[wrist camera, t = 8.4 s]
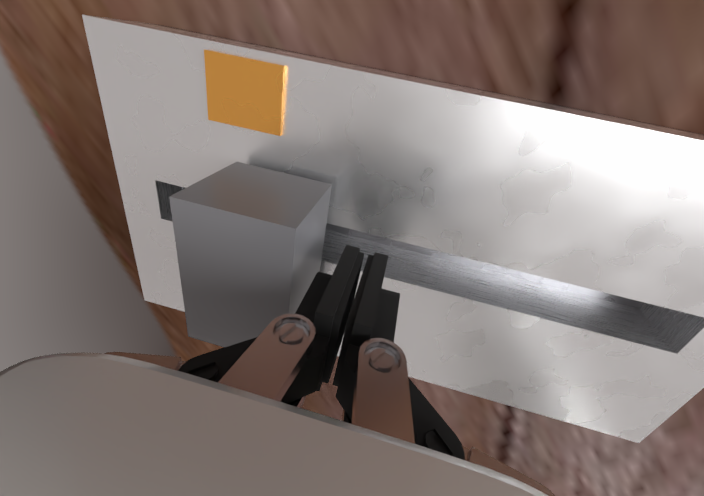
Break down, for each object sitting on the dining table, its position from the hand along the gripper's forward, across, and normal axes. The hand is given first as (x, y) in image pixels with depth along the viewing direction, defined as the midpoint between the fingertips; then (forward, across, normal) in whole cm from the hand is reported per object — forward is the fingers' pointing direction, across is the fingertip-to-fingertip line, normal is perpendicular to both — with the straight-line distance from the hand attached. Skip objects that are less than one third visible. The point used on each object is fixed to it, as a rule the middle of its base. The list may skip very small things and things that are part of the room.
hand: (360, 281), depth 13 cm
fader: (+5, +4, 0) cm, 6 cm away
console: (+6, -2, 0) cm, 6 cm away
